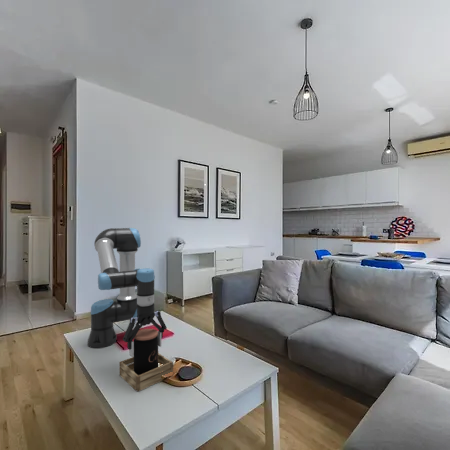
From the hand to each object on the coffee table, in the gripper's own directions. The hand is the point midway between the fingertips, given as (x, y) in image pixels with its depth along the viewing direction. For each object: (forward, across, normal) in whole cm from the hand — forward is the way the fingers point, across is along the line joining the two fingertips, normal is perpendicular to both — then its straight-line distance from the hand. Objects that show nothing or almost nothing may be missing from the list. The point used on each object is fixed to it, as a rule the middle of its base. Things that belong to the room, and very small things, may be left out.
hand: (145, 350), depth 125 cm
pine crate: (+11, 0, 0) cm, 11 cm away
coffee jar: (+10, 0, 0) cm, 10 cm away
